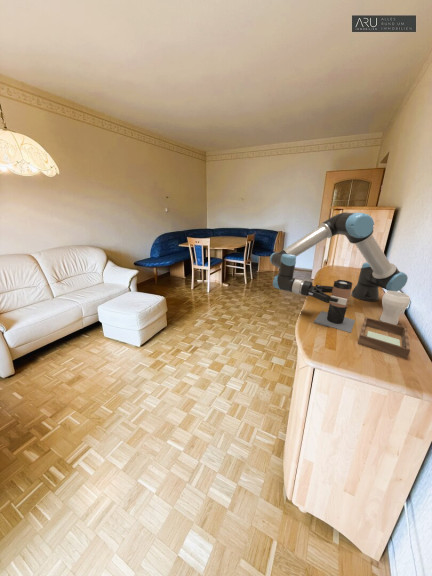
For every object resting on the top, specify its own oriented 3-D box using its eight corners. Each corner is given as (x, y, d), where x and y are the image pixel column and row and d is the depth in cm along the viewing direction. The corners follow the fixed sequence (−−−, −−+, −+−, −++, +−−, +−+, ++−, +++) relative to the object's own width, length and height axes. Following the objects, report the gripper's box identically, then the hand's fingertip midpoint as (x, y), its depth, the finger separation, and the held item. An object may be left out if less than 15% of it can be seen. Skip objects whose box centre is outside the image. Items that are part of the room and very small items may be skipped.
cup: (379, 323, 113) (388, 295, 108) (373, 315, 122) (381, 289, 117) (404, 328, 109) (415, 299, 104) (397, 319, 119) (406, 292, 114)
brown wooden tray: (362, 325, 110) (365, 316, 109) (403, 336, 102) (407, 327, 100) (357, 344, 94) (360, 335, 92) (406, 360, 85) (410, 350, 83)
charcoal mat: (321, 312, 123) (321, 310, 122) (354, 321, 114) (355, 320, 114) (313, 322, 110) (313, 321, 110) (350, 334, 102) (350, 332, 101)
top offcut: (367, 333, 99) (368, 330, 98) (398, 342, 93) (399, 339, 92) (365, 340, 93) (366, 337, 92) (399, 350, 87) (400, 347, 86)
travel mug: (345, 324, 108) (355, 285, 101) (328, 322, 109) (337, 283, 103) (340, 318, 115) (349, 280, 108) (324, 316, 116) (332, 279, 110)
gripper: (308, 288, 128) (350, 298, 117) (293, 301, 109) (342, 314, 97) (310, 275, 126) (353, 284, 114) (296, 286, 107) (346, 297, 95)
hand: (348, 298), depth 106 cm, fingers open, 13 cm apart
